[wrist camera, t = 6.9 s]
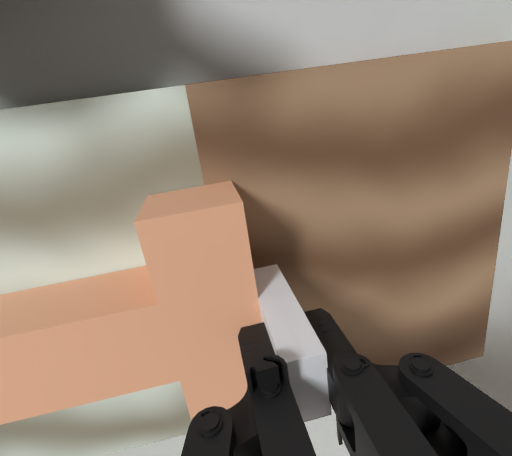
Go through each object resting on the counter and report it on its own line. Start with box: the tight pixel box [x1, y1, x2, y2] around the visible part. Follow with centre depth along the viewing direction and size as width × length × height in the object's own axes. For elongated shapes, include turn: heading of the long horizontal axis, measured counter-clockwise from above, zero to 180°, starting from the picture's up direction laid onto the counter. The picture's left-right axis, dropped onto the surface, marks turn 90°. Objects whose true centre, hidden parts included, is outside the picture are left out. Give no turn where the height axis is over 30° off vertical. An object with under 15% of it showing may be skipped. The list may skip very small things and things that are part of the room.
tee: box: [0, 181, 262, 425], centre depth 16 cm, size 11×13×4 cm
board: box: [0, 41, 512, 456], centre depth 17 cm, size 20×36×4 cm, turn 98°
